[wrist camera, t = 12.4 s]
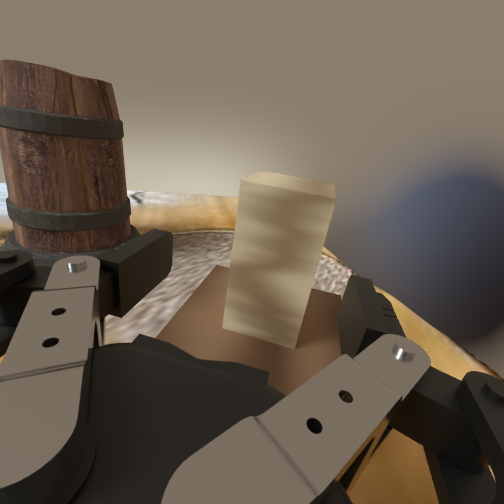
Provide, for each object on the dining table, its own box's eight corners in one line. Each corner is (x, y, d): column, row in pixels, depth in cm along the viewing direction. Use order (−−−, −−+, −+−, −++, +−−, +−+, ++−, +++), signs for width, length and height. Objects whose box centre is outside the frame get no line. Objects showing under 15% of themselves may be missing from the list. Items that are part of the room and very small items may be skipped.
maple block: (222, 328, 18) (240, 180, 14) (242, 291, 23) (260, 170, 19) (294, 349, 18) (336, 198, 14) (300, 306, 22) (333, 184, 18)
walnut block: (146, 407, 18) (144, 350, 16) (212, 306, 29) (216, 264, 27) (329, 471, 16) (355, 416, 14) (326, 337, 27) (340, 295, 25)
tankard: (157, 229, 45) (158, 93, 37) (127, 283, 30) (117, 73, 22) (-2, 215, 42) (-41, 59, 33) (-127, 267, 26) (-255, 7, 18)
